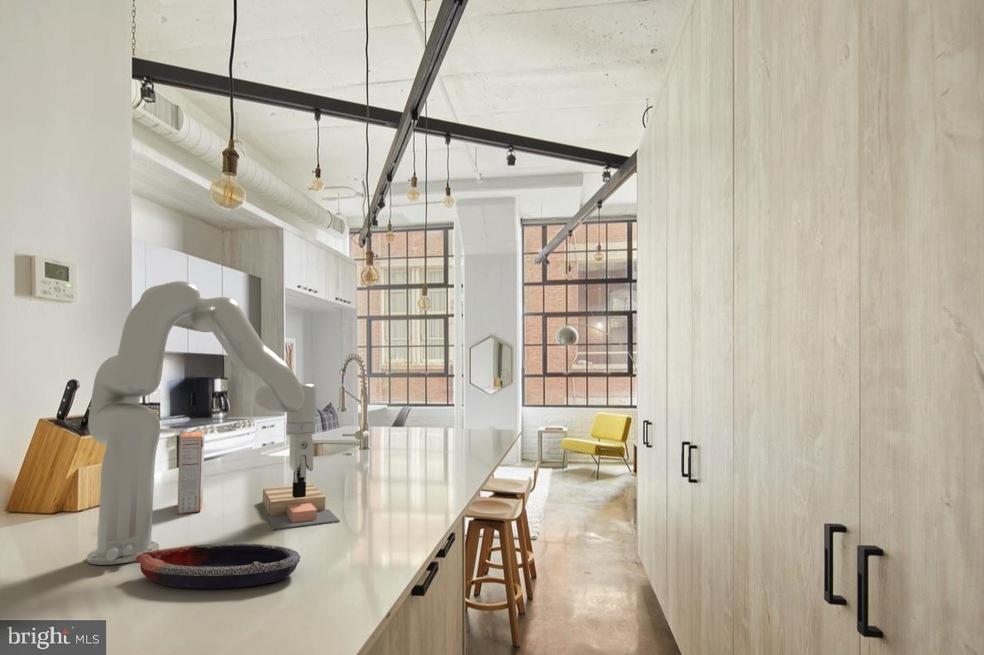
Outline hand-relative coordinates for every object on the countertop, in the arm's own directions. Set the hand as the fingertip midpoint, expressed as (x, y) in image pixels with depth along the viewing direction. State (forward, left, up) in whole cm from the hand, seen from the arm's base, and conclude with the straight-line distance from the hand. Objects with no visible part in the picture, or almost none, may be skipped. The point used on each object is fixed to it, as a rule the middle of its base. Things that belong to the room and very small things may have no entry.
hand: (299, 496), depth 150 cm
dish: (-41, +21, -5) cm, 46 cm away
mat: (-6, 0, -5) cm, 8 cm away
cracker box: (+22, +26, -5) cm, 34 cm away
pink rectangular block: (-5, 0, -4) cm, 6 cm away
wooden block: (+10, 0, -5) cm, 11 cm away
